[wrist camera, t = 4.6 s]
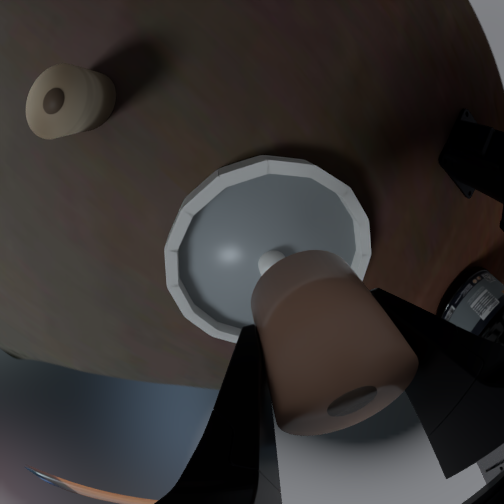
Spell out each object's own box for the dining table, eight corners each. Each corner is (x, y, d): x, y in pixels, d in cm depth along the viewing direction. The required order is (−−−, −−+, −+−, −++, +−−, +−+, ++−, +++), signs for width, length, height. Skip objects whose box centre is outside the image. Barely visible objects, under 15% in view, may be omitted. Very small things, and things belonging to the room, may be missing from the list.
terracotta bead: (354, 237, 9) (436, 327, 5) (352, 320, 11) (401, 405, 7) (239, 266, 9) (265, 389, 5) (261, 346, 11) (285, 447, 7)
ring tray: (388, 215, 20) (402, 225, 18) (295, 342, 25) (300, 358, 23) (225, 117, 15) (227, 117, 13) (144, 296, 20) (140, 313, 18)
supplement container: (458, 326, 31) (501, 379, 20) (418, 331, 28) (467, 400, 18) (492, 266, 26) (546, 316, 16) (458, 258, 24) (528, 323, 13)
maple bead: (126, 81, 13) (99, 71, 9) (101, 138, 14) (69, 148, 10) (78, 66, 11) (42, 58, 7) (56, 122, 13) (17, 129, 9)
